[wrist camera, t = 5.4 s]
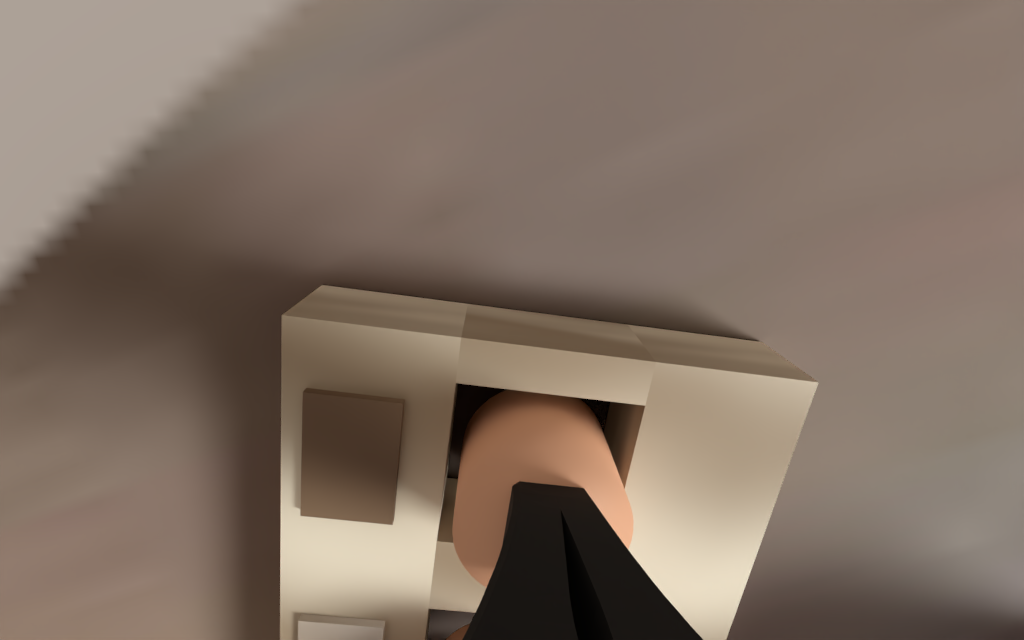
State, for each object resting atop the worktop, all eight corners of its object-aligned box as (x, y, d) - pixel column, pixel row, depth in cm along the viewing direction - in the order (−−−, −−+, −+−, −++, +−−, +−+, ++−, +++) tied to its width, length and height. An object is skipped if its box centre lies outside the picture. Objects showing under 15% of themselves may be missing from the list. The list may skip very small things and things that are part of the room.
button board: (616, 804, 18) (635, 906, 16) (306, 785, 18) (275, 888, 15) (761, 342, 13) (824, 386, 10) (322, 284, 12) (277, 317, 10)
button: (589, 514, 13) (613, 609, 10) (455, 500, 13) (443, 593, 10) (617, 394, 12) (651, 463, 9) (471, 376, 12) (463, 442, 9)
